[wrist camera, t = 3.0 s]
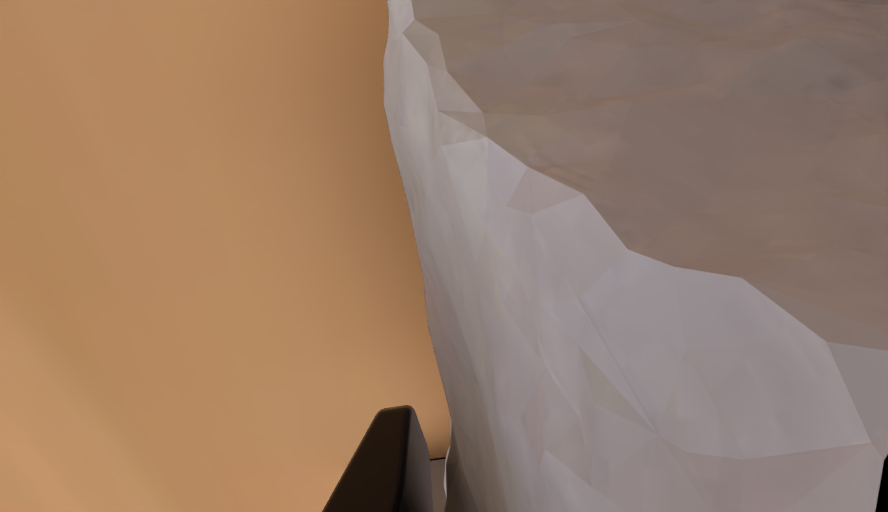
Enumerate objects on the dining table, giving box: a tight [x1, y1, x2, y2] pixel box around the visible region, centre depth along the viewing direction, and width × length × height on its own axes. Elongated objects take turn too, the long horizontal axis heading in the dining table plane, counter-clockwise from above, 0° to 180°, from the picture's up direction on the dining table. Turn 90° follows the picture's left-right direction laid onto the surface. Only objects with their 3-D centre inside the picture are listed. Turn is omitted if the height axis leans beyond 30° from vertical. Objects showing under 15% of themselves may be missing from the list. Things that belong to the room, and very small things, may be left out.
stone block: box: [383, 0, 888, 512], centre depth 9 cm, size 12×5×10 cm, turn 3°
